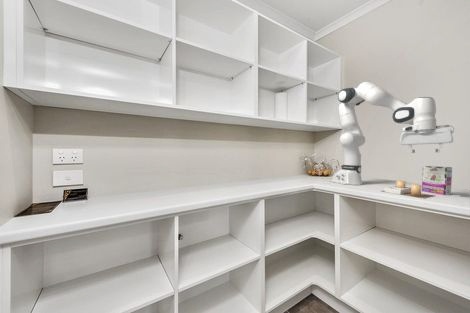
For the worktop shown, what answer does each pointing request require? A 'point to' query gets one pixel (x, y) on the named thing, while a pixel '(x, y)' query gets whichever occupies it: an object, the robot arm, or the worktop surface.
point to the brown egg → (416, 190)
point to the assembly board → (415, 196)
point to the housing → (398, 188)
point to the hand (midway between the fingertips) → (424, 152)
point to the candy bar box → (437, 180)
